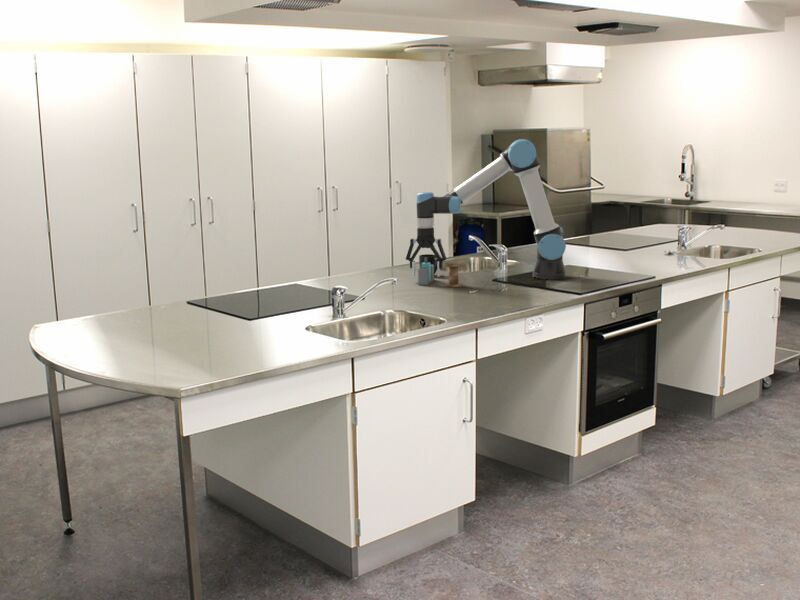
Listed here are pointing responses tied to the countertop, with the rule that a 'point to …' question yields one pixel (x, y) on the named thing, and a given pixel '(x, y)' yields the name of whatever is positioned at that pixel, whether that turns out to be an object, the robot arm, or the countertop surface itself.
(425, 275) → the notch board
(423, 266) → the teal bottle
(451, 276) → the bobbin
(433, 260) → the mug
